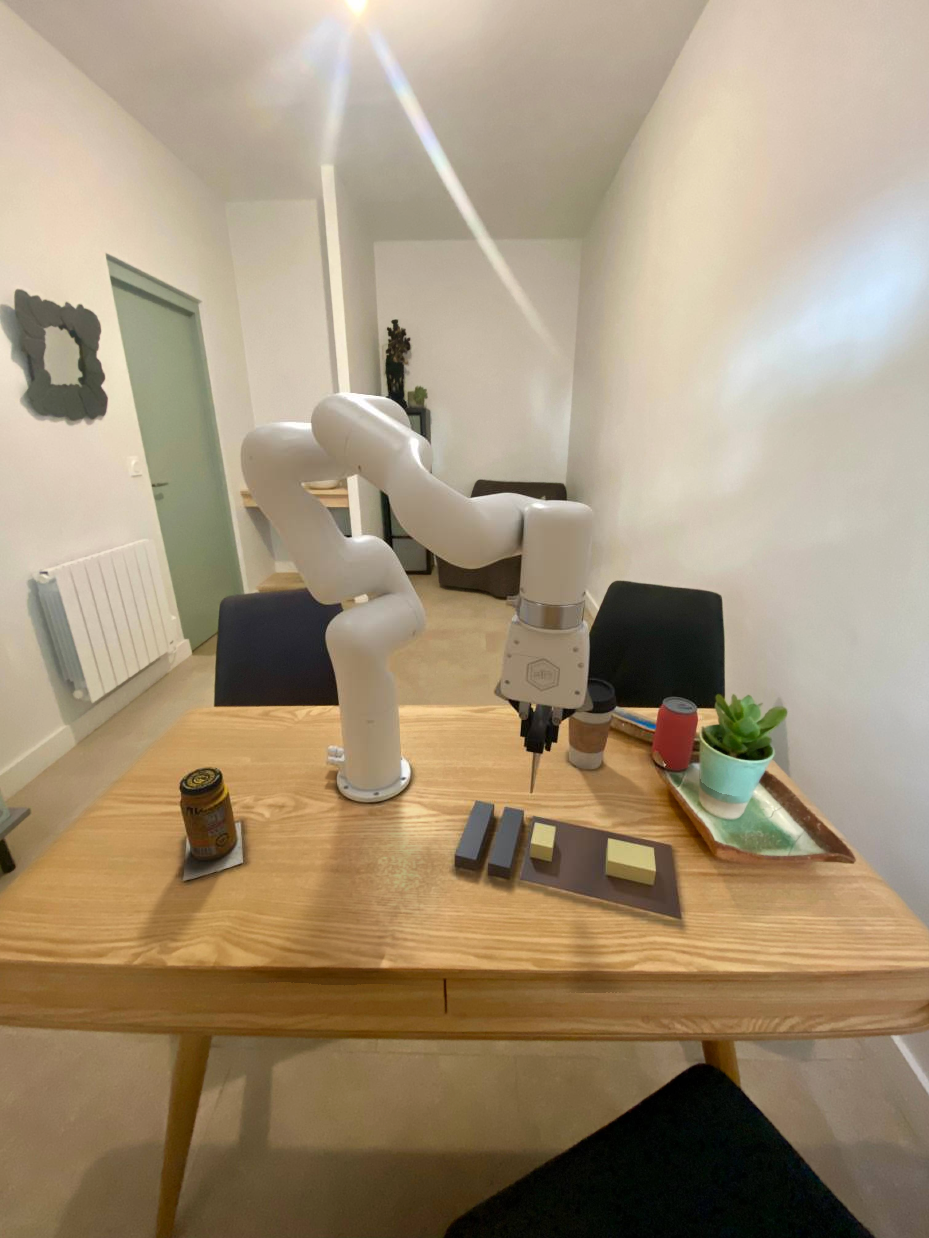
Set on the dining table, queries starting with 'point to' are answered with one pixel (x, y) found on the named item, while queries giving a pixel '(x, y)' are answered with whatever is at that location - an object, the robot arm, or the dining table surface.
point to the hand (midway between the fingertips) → (538, 742)
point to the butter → (630, 861)
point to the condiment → (208, 824)
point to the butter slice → (542, 842)
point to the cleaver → (537, 737)
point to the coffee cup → (592, 726)
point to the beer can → (675, 732)
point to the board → (601, 869)
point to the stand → (503, 843)
